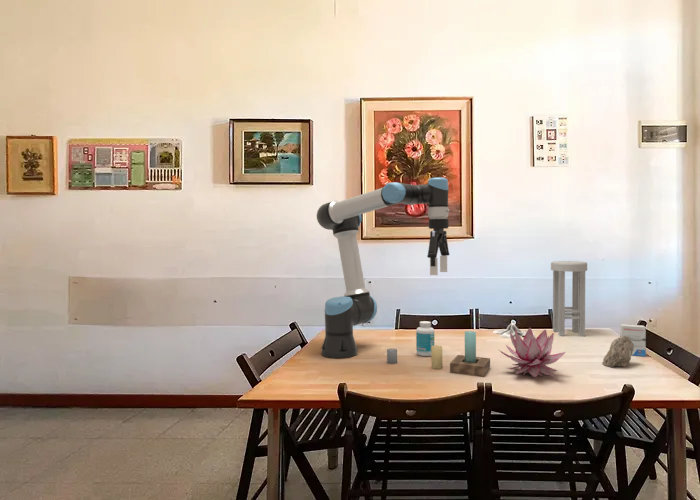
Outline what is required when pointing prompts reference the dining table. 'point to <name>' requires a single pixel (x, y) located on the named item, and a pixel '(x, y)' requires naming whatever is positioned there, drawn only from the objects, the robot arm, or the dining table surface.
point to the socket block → (470, 366)
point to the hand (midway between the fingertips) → (438, 273)
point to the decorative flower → (533, 353)
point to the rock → (619, 352)
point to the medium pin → (436, 356)
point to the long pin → (470, 346)
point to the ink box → (635, 337)
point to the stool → (577, 296)
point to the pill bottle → (424, 338)
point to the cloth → (511, 328)
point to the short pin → (391, 356)
